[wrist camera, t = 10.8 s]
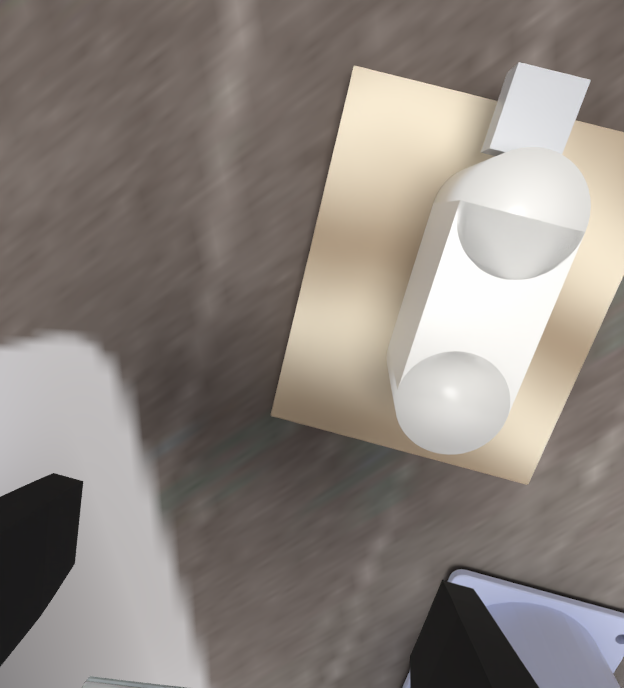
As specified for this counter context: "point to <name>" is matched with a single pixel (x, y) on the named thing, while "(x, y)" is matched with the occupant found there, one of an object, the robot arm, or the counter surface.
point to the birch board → (399, 257)
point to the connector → (490, 268)
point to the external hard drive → (120, 684)
